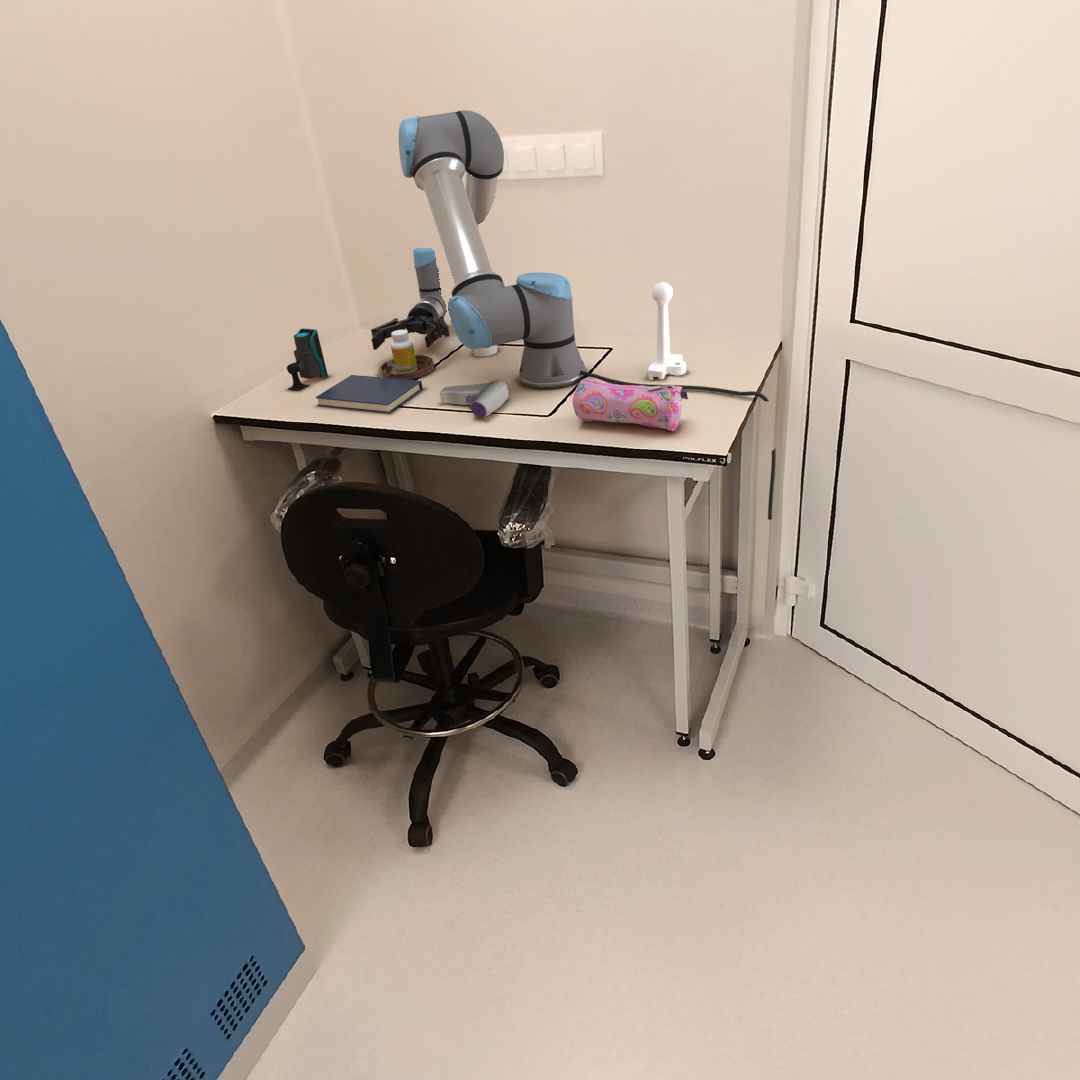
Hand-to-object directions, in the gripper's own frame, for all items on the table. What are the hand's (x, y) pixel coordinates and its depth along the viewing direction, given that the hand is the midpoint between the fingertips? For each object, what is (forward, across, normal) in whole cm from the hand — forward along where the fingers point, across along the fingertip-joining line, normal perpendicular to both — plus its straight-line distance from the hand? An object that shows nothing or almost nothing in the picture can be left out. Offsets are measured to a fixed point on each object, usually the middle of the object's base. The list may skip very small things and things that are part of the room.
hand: (400, 343), depth 194 cm
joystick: (+5, -65, -8) cm, 65 cm away
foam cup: (-13, -17, -8) cm, 23 cm away
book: (+16, +4, -7) cm, 18 cm away
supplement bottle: (-1, 0, -7) cm, 7 cm away
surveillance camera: (+5, +24, -8) cm, 26 cm away
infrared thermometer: (+23, -22, -8) cm, 33 cm away
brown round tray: (-1, 0, -7) cm, 7 cm away
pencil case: (+33, -58, -8) cm, 67 cm away
